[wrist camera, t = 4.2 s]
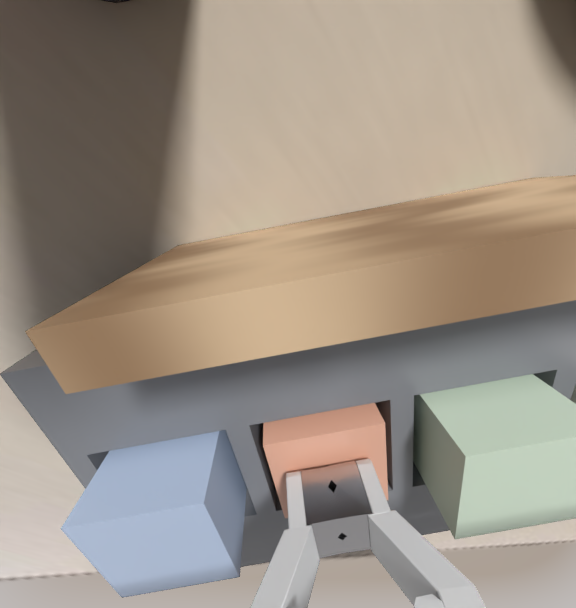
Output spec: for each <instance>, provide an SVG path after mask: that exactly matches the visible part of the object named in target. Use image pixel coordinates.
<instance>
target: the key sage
mask: <svg viewBox="0 0 576 608" xmlns="http://www.w3.org/2000/svg"><path fill="white" fill-rule="evenodd" d="M413 462H414V464H415V465H416V467H417V469H418V471H419V473H420V475H421V477H422V479H423V480H424V482H425V484H426V486H427V488H428V490H429V492H430V494H431V495H432V497H433V499H434V501H435V503H436V505H437V507H438V509H439V510H440V512H441V514H442V516H443V518H444V520H445V522H446V524H447V525H448V527H449V529H450V531H451V533H452V535H453V537H454V539H460V538H466V537H471V536H477V535H483V534H489V533H494V532H500V531H506V530H511V529H517V528H523V527H529V526H534V525H540V524H546V523H552V522H557V521H563V520H569V519H574V518H576V404H575V403H574V402H572V401H571V400H570V399H568V398H567V397H565V396H564V395H562V394H561V393H559V392H558V391H556V390H555V389H554V388H552V387H551V386H549V385H548V384H546V383H545V382H543V381H542V380H541V379H539V378H538V377H536V376H535V375H533V374H530V375H524V376H519V377H513V378H508V379H502V380H497V381H491V382H486V383H480V384H475V385H469V386H464V387H458V388H453V389H447V390H442V391H436V392H431V393H425V394H420V395H414V430H413Z"/></svg>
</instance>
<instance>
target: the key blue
mask: <svg viewBox="0 0 576 608" xmlns="http://www.w3.org/2000/svg"><path fill="white" fill-rule="evenodd" d="M246 492H247V486H246V483H245V481H244V478H243V475H242V473H241V470H240V467H239V464H238V462H237V459H236V456H235V454H234V451H233V448H232V445H231V443H230V440H229V437H228V435H227V432H226V430H221V431H216V432H210V433H205V434H199V435H194V436H188V437H183V438H177V439H172V440H166V441H161V442H155V443H150V444H144V445H139V446H133V447H128V448H122V449H117V450H111V451H109V452H108V454H107V456H106V457H105V459H104V460H103V462H102V464H101V465H100V467H99V468H98V470H97V472H96V473H95V475H94V476H93V478H92V480H91V481H90V483H89V484H88V486H87V488H86V489H85V491H84V492H83V494H82V496H81V497H80V499H79V500H78V502H77V504H76V505H75V507H74V508H73V510H72V512H71V513H70V515H69V516H68V518H67V520H66V521H65V523H64V524H63V526H62V528H61V530H62V531H63V532H64V533H65V534H66V535H67V537H68V538H69V539H70V540H71V541H72V542H73V543H74V544H75V546H76V547H77V548H78V549H79V550H80V551H81V552H82V553H83V555H84V556H85V557H86V558H87V559H88V560H89V561H90V562H91V564H92V565H93V566H94V567H95V568H96V569H97V570H98V571H99V573H100V574H101V575H102V576H103V577H104V578H105V579H106V580H107V582H108V583H109V584H110V585H111V586H112V587H113V588H114V589H115V590H116V592H117V593H118V594H119V595H120V596H121V597H128V596H134V595H140V594H146V593H151V592H157V591H162V590H168V589H174V588H179V587H186V586H191V585H197V584H203V583H208V582H214V581H219V580H225V579H231V578H237V577H240V567H241V554H242V542H243V529H244V517H245V504H246Z"/></svg>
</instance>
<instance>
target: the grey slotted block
mask: <svg viewBox="0 0 576 608" xmlns="http://www.w3.org/2000/svg"><path fill="white" fill-rule="evenodd" d="M530 374H533V375H535V376H536V377H538V378H539V379H541V380H542V381H543V382H545V383H546V384H548V385H549V386H551V387H552V388H554V389H555V390H556V391H558V392H559V393H561V394H562V395H564V396H565V397H567V398H568V399H570V400H571V397H572V393H573V390H574V387H575V384H576V300H574V301H568V302H563V303H557V304H552V305H547V306H541V307H536V308H530V309H525V310H520V311H514V312H509V313H503V314H498V315H492V316H487V317H482V318H476V319H471V320H465V321H460V322H454V323H449V324H444V325H438V326H433V327H427V328H422V329H417V330H411V331H406V332H400V333H395V334H389V335H384V336H379V337H373V338H368V339H362V340H357V341H351V342H346V343H341V344H335V345H330V346H324V347H319V348H313V349H308V350H303V351H297V352H292V353H286V354H281V355H276V356H270V357H265V358H259V359H254V360H248V361H243V362H238V363H232V364H227V365H221V366H216V367H210V368H205V369H200V370H194V371H189V372H183V373H178V374H173V375H167V376H162V377H156V378H151V379H145V380H140V381H135V382H129V383H124V384H118V385H113V386H107V387H102V388H97V389H91V390H86V391H80V392H75V393H70V394H65V392H64V391H63V389H62V388H61V386H60V384H59V383H58V381H57V380H56V378H55V377H54V375H53V374H52V372H51V371H50V369H49V367H48V366H47V364H46V363H45V361H44V360H43V358H42V357H41V355H40V354H39V352H38V351H37V349H36V350H35V351H33V352H32V353H30V354H29V355H27V356H26V357H24V358H23V359H21V360H20V361H18V362H17V363H15V364H14V365H12V366H11V367H9V368H8V369H6V370H5V371H3V372H2V373H0V375H1V376H2V378H3V379H4V380H5V382H6V383H7V384H8V386H9V387H10V388H11V390H12V391H13V392H14V394H15V395H16V396H17V398H18V399H19V400H20V402H21V403H22V404H23V406H24V407H25V408H26V410H27V411H28V413H29V414H30V415H31V417H32V418H33V419H34V421H35V422H36V423H37V425H38V426H39V427H40V429H41V430H42V431H43V433H44V434H45V435H46V437H47V438H48V439H49V441H50V442H51V443H52V445H53V446H54V447H55V449H56V450H57V451H58V453H59V454H60V455H61V457H62V458H63V459H64V461H65V462H66V463H67V465H68V466H69V467H70V469H71V470H72V471H73V473H74V474H75V475H76V477H77V478H78V479H79V481H80V482H81V483H82V485H83V486H84V487H85V489H86V488H87V486H88V484H89V483H90V481H91V480H92V478H93V476H94V475H95V473H96V472H97V470H98V468H99V467H100V465H101V464H102V462H103V460H104V459H105V457H106V456H107V454H108V452H109V451H111V450H117V449H122V448H128V447H133V446H139V445H144V444H150V443H155V442H161V441H166V440H172V439H177V438H183V437H188V436H194V435H199V434H205V433H210V432H216V431H221V430H226V432H227V435H228V437H229V440H230V443H231V445H232V448H233V451H234V454H235V456H236V459H237V462H238V464H239V467H240V470H241V473H242V475H243V478H244V481H245V483H246V486H247V492H246V504H245V517H244V529H243V542H242V554H241V567H243V566H249V565H254V564H260V563H266V562H270V561H271V559H272V557H273V554H274V552H275V550H276V547H277V545H278V543H279V541H280V538H281V536H282V534H283V531H284V530H285V529H289V526H288V518H285V517H284V514H283V510H282V507H281V504H280V501H279V497H278V494H277V491H276V487H275V484H274V481H273V477H272V474H271V471H270V468H269V464H268V461H267V458H266V454H265V451H264V448H263V424H264V423H265V422H271V421H276V420H282V419H287V418H293V417H298V416H304V415H309V414H315V413H320V412H326V411H331V410H337V409H342V408H348V407H353V406H359V405H364V404H370V403H375V404H376V406H377V408H378V410H379V412H380V414H381V416H382V418H383V420H384V422H385V430H386V455H387V479H388V500H387V502H388V505H389V508H390V510H391V511H392V510H396V511H397V512H398V513H399V514H400V515H401V516H402V517H403V518H404V519H405V520H406V521H407V522H408V523H409V524H411V525H412V526H413V527H414V528H415V529H416V530H417V531H418V532H419V533H420V534H421V535H425V534H431V533H437V532H443V531H448V530H450V529H449V527H448V525H447V524H446V522H445V520H444V518H443V516H442V514H441V512H440V510H439V509H438V507H437V505H436V503H435V501H434V499H433V497H432V495H431V494H430V492H429V490H428V488H427V486H426V484H425V482H424V480H423V479H422V477H421V475H420V473H419V471H418V469H417V467H416V465H415V464H414V462H413V430H414V395H420V394H425V393H431V392H436V391H442V390H447V389H453V388H458V387H464V386H469V385H475V384H480V383H486V382H491V381H497V380H502V379H508V378H513V377H519V376H524V375H530Z"/></svg>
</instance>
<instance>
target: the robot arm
mask: <svg viewBox="0 0 576 608" xmlns="http://www.w3.org/2000/svg"><path fill="white" fill-rule="evenodd" d="M286 489H287V507H288V526H289V529H285V530H284V531H283V534H282V536H281V538H280V541H279V543H278V545H277V547H276V550H275V552H274V554H273V557H272V559H271V561H270V564H269V566H268V568H267V570H266V573H265V575H264V578H263V580H262V582H261V584H260V587H259V589H258V591H257V593H256V596H255V598H254V600H253V603H252V605H251V607H250V608H307V607H308V603H309V599H310V595H311V592H312V588H313V584H314V580H315V576H316V573H317V569H318V565H319V562H320V559H319V558H323V557H328V556H332V555H337V554H342V553H347V552H354V551H361V550H368V549H371V551H372V552H373V554H374V555H375V556H376V558H377V559H378V560H379V561H380V563H381V564H382V565H383V567H384V568H385V569H386V570H387V572H388V573H389V574H390V576H391V577H392V578H393V580H394V581H395V582H396V583H397V585H398V586H399V587H400V588H401V590H402V591H403V592H404V593H405V595H406V596H407V597H408V599H409V600H410V601H411V603H412V604H413V605H414V608H486V606H485V604H484V603H483V601H482V599H481V597H480V595H479V593H478V591H477V589H476V587H475V586H474V584H473V583H472V582H471V581H469V580H468V579H467V578H466V577H465V576H464V575H463V574H462V573H461V572H460V571H459V570H458V569H457V568H456V567H454V565H453V564H451V562H449V561H448V560H447V559H446V558H445V557H444V556H443V555H442V554H441V553H440V552H439V551H438V550H437V549H436V548H435V547H434V546H433V545H432V544H431V543H429V542H428V541H427V540H426V539H425V538H424V537H423V536H422V535H421V534H420V533H419V532H418V531H417V530H416V529H415V528H414V527H413V526H412V525H411V524H409V523H408V522H407V521H406V520H405V519H404V518H403V517H402V516H401V515H400V514H399V513H398V512H397V511H396V510H392V511H391V510H390V508H389V505H388V502H387V500H386V497H385V495H384V492H383V489H382V487H381V484H380V481H379V479H378V476H377V474H376V471H375V468H374V466H373V463H372V461H371V460H370V459H369V458H367V459H362V460H357V461H350V462H345V463H340V464H335V465H330V466H326V467H320V468H315V469H309V470H303V471H296V472H290V473H287V474H286Z"/></svg>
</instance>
